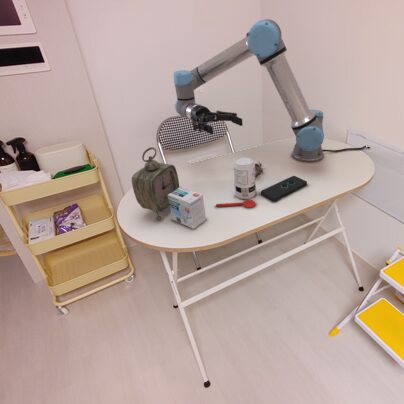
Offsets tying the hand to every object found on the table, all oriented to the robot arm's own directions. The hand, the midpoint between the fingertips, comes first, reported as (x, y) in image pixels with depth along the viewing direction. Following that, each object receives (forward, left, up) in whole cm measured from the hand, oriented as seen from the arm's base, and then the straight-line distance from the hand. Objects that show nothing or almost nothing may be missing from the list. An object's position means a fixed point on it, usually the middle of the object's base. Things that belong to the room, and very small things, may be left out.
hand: (227, 126), depth 115 cm
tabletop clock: (+26, +16, -26) cm, 40 cm away
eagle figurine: (-11, -8, -26) cm, 29 cm away
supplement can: (-6, +8, -26) cm, 28 cm away
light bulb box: (+15, +23, -26) cm, 38 cm away
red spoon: (-1, +15, -26) cm, 30 cm away
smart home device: (-22, +6, -26) cm, 35 cm away
